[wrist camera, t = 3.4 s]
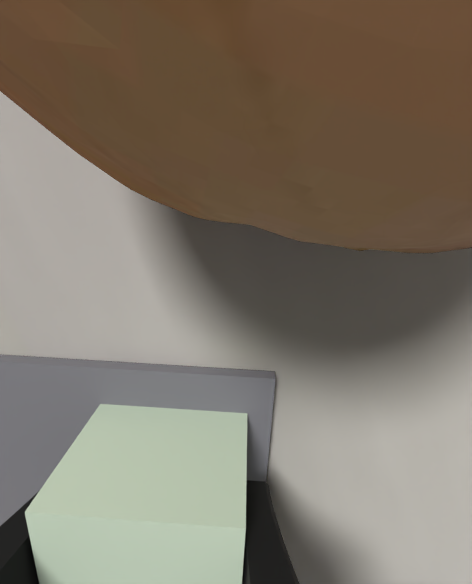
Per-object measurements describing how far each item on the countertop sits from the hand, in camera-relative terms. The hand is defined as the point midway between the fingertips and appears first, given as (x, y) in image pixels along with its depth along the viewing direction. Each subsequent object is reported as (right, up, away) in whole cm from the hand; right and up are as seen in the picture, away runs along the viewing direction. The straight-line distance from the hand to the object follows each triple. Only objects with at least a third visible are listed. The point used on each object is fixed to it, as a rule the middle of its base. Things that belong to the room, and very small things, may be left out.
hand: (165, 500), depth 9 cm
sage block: (0, 0, +1) cm, 1 cm away
